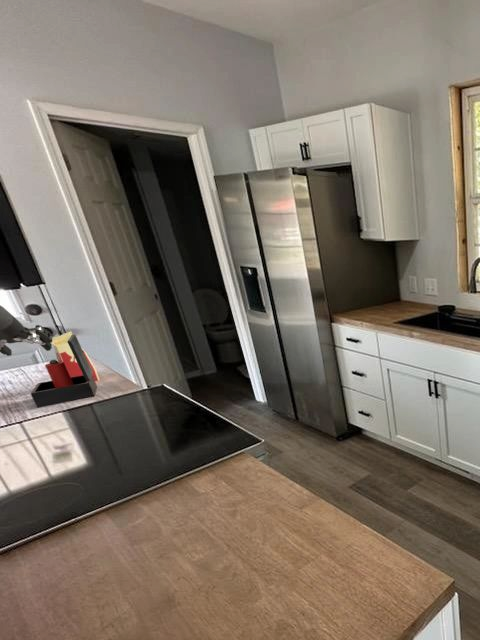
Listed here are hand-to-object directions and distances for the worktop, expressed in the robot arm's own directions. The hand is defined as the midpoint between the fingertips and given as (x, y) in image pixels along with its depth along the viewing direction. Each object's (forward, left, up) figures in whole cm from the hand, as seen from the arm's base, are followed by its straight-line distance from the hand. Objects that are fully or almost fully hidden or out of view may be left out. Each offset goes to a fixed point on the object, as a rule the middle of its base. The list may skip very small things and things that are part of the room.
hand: (29, 350), depth 126 cm
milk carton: (+4, +30, -20) cm, 37 cm away
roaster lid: (+8, +11, -7) cm, 16 cm away
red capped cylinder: (+2, +11, -19) cm, 22 cm away
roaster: (+2, +11, -20) cm, 23 cm away
